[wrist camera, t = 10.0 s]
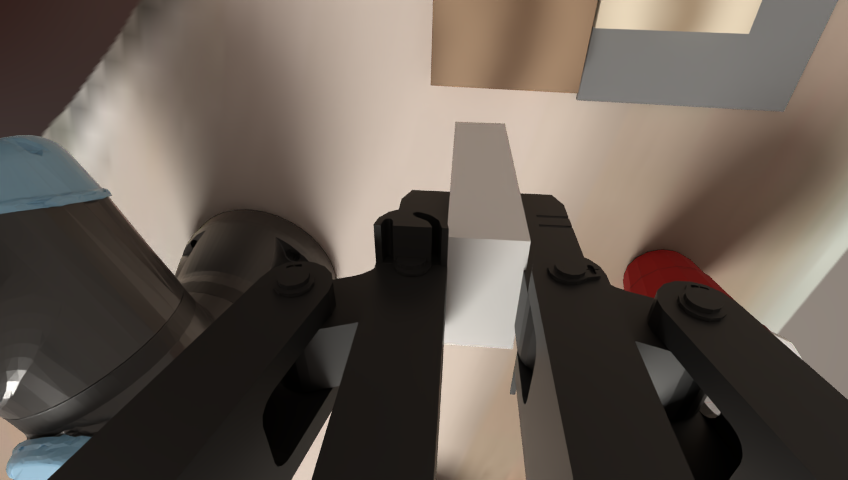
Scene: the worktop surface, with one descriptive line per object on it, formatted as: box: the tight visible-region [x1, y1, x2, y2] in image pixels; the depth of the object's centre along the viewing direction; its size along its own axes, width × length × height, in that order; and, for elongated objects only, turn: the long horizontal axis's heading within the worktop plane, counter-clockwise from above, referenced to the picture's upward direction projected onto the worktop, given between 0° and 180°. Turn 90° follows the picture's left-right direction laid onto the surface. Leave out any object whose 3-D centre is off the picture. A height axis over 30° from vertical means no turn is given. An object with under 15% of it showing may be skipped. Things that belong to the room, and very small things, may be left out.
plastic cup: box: [623, 250, 801, 415], centre depth 35 cm, size 11×11×12 cm
